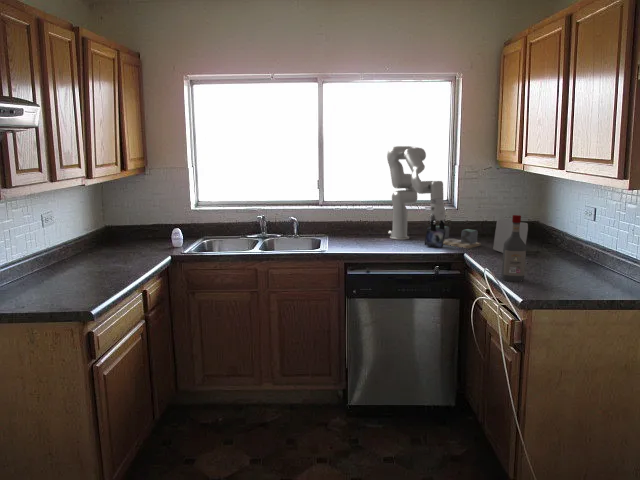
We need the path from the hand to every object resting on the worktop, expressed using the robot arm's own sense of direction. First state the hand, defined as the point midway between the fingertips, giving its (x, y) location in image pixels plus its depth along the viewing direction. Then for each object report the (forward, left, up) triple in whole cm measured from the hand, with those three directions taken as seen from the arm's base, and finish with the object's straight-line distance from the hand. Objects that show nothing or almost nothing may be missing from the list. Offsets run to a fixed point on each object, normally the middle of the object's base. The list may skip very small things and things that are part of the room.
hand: (437, 230), depth 328 cm
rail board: (+1, +18, -11) cm, 21 cm away
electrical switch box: (+37, +21, -11) cm, 44 cm away
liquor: (+68, -41, -11) cm, 80 cm away
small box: (-3, +1, -10) cm, 11 cm away
